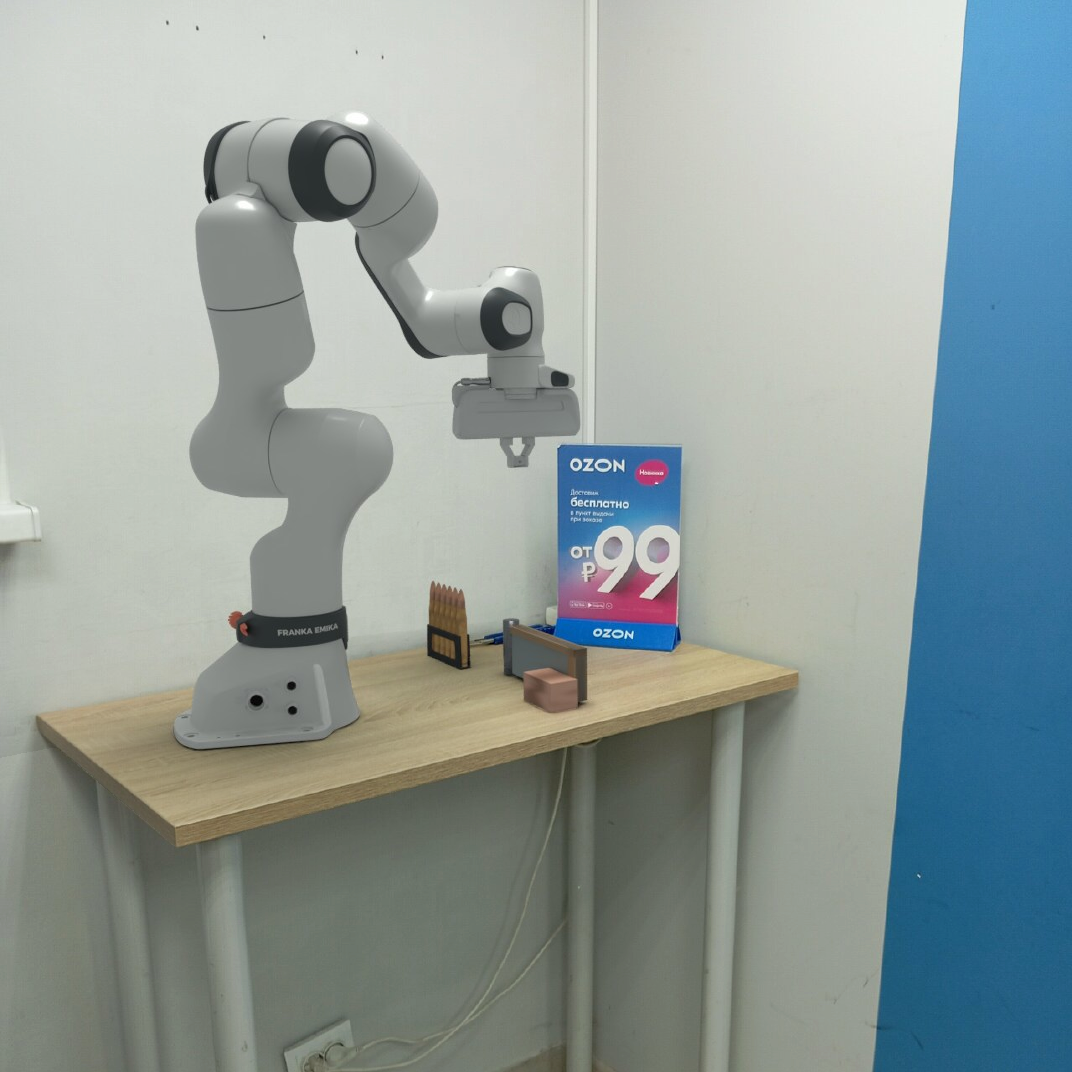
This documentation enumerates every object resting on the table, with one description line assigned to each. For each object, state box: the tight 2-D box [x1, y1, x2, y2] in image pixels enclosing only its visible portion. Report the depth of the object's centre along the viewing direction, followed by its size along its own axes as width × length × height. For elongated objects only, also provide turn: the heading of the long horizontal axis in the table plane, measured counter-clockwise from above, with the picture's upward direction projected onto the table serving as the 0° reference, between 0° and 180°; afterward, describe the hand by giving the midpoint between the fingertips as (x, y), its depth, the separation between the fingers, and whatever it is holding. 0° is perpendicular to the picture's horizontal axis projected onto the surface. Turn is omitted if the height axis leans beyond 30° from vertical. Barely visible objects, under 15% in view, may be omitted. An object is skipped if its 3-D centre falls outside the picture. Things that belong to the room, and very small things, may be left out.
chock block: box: [523, 668, 579, 714], centre depth 134 cm, size 7×4×4 cm, turn 31°
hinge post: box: [502, 617, 520, 677], centre depth 149 cm, size 2×2×8 cm
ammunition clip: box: [426, 580, 472, 671], centre depth 156 cm, size 11×2×12 cm, turn 34°
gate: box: [510, 624, 588, 703], centre depth 140 cm, size 17×2×7 cm, turn 31°
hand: (517, 467), depth 159 cm, fingers closed
